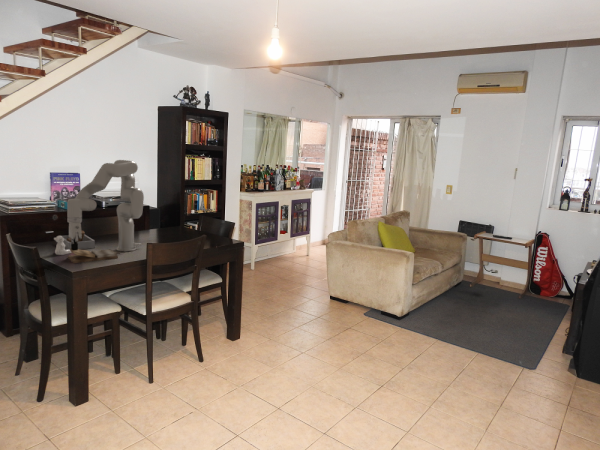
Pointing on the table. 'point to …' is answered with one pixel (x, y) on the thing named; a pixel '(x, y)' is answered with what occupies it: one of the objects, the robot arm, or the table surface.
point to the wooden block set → (78, 238)
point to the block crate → (80, 243)
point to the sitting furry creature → (61, 246)
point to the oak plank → (83, 253)
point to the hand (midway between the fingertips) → (74, 249)
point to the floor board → (98, 256)
